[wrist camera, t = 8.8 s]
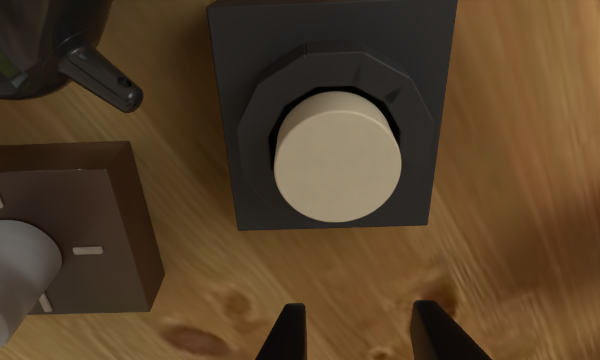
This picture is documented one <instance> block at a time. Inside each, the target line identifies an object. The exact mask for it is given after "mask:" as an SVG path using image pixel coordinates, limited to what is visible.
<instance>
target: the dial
mask: <svg viewBox="0 0 600 360" xmlns="http://www.w3.org/2000/svg"><path fill="white" fill-rule="evenodd" d="M61 265H62V256H61V253H60V250H59V248H58V247H57V245H56V244H55V242H54V241H53V240H52V239H51V238H50V237H49V236H48V235H47V234H45V233H44V232H43V231H41V230H40V229H38V228H36V227H34V226H32V225H30V224H27V223H24V222H20V221H15V220H0V349H1V348H3V347H4V346H5V345H6V344H7V342H8V341H9V340H10V338H11V337H12V335H13V334H14V333H15V331H16V330H17V329H18V327H19V326H20V324H21V323H22V322H23V320H24V319H25V318H26V316H27V315H28V314H29V312H30V311H31V309H32V308H33V307H34V305H35V304H36V303H37V301H38V300H39V298H40V297H41V296H42V294H43V293H44V292H45V290H46V289H47V287H48V286H49V285H50V283H51V282H52V281H53V279H54V278H55V277H56V275H57V274H58V272H59V271H60V269H61Z"/></svg>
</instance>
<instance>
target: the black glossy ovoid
mask: <svg viewBox="0 0 600 360" xmlns="http://www.w3.org/2000/svg"><path fill="white" fill-rule="evenodd" d="M112 2H113V0H0V100H11V101H20V100H31V99H36V98H41V97H44V96H47V95H50V94H53V93H55V92H57V91H59V90H61V89H63V88H64V87H66V86H67V85H69V84H70V83H71V82H72V81H74V82H75V83H77V84H79V85H80V86H82V87H83V88H85V89H87V90H88V91H90V92H91V93H93V94H94V95H96V96H98V97H99V98H101V99H102V100H104V101H106V102H107V103H109V104H110V105H112V106H114V107H115V108H117V109H118V110H120V111H122V112H123V113H131V112H133V111H135V110H136V109H137V108H138V107H139V106H140V105H141V103H142V101H143V96H144V95H143V91H142V89H141V88H140V87H139V86H137V85H136V84H135V83H134V82H133V81H132V80H131V79H129V78H128V77H127V76H126V75H125V74H124V73H123V72H121V71H120V70H119V69H118V68H117V67H116V66H114V65H113V64H112V63H111V62H110V61H109V60H108V59H106V58H105V57H104V56H103V55H102V54H101V53H100V52H98V51H97V50H96V47H97V46H98V44H99V41H100V39H101V37H102V34H103V32H104V29H105V26H106V23H107V20H108V16H109V13H110V9H111V6H112Z"/></svg>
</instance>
